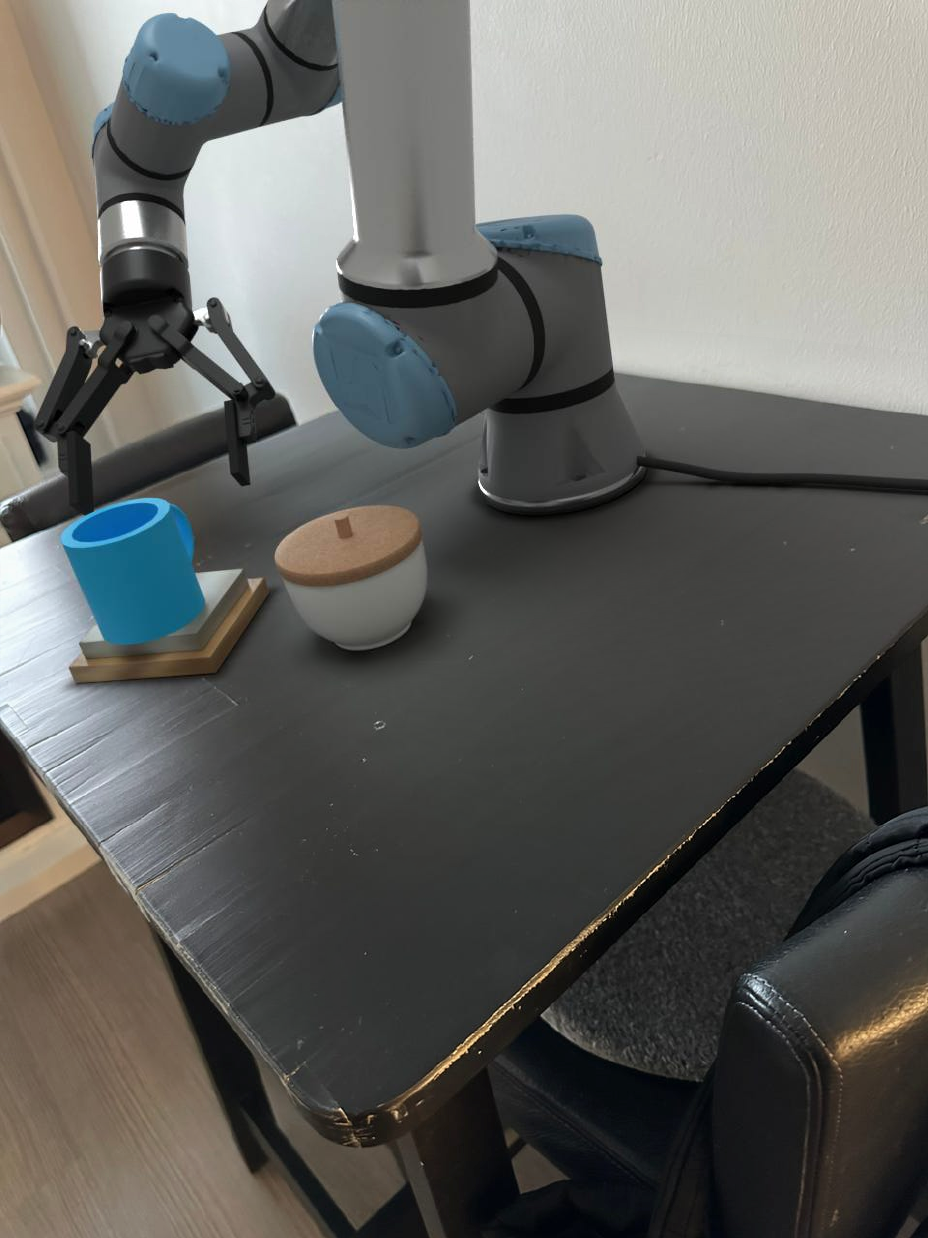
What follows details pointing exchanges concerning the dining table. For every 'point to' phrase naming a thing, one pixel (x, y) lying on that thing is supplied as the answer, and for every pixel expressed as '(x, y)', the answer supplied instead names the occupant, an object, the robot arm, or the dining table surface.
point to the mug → (136, 569)
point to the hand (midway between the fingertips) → (160, 495)
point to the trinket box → (356, 574)
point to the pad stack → (179, 636)
